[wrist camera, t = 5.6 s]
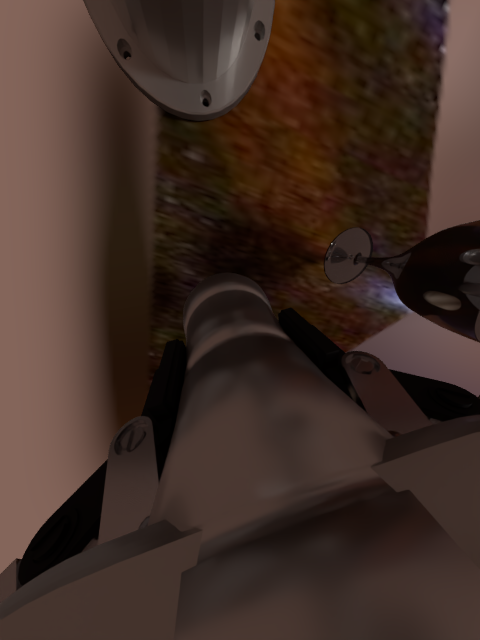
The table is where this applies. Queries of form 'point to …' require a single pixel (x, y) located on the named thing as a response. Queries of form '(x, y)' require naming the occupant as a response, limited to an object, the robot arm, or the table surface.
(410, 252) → the wine glass
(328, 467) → the plastic bottle
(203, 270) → the table surface
